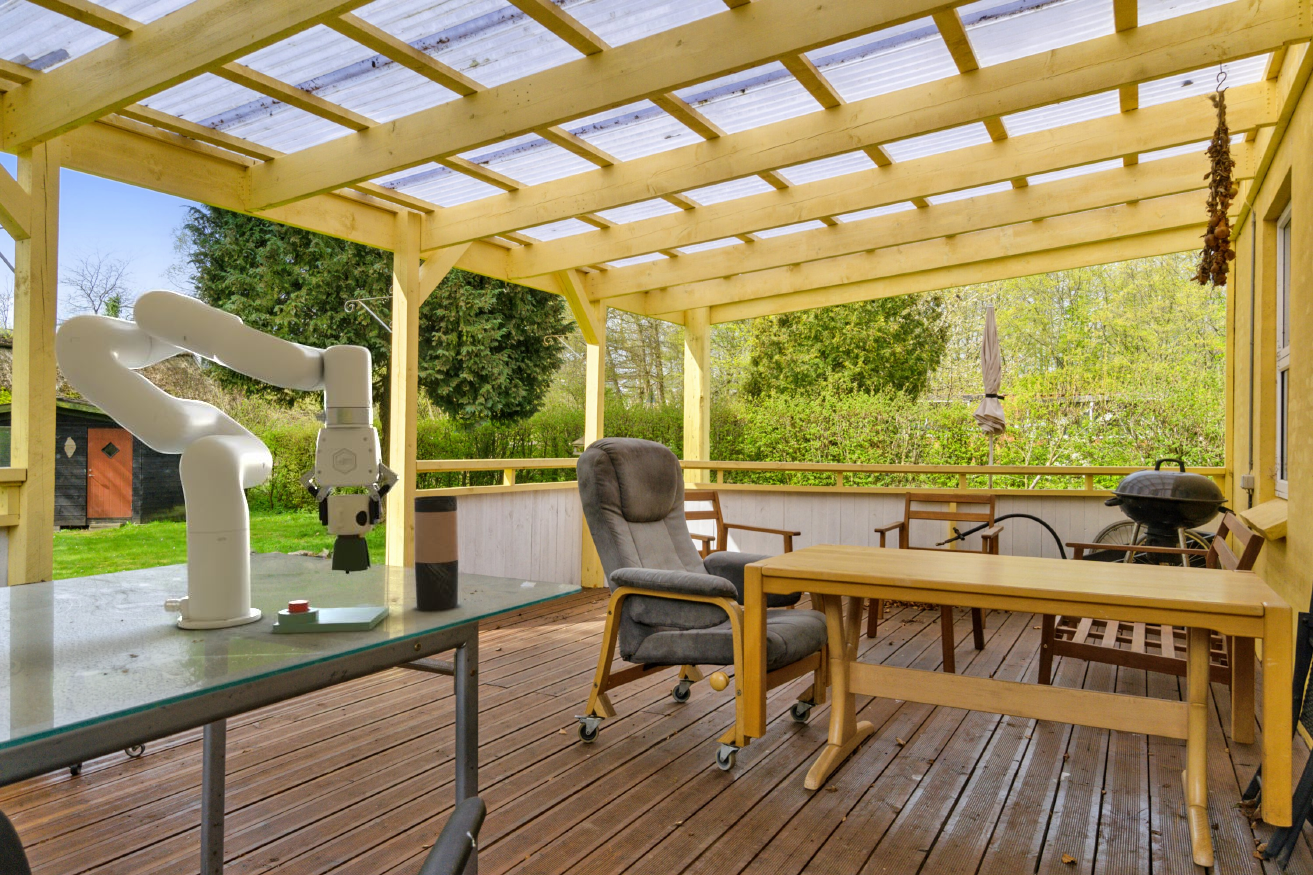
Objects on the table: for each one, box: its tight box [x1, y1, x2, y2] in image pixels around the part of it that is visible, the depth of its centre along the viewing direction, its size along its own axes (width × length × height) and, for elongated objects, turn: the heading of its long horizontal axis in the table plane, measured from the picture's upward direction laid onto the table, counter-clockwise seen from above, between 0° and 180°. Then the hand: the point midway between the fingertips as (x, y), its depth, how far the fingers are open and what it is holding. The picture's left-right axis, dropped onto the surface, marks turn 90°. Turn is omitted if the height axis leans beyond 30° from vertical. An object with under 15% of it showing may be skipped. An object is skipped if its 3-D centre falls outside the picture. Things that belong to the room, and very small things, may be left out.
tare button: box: [288, 599, 310, 613], centre depth 139 cm, size 3×3×2 cm
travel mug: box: [413, 495, 459, 612], centre depth 155 cm, size 8×8×20 cm
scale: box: [272, 605, 390, 634], centre depth 143 cm, size 15×13×3 cm
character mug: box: [327, 493, 374, 575], centre depth 145 cm, size 11×7×13 cm, turn 175°
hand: (350, 523), depth 145 cm, fingers closed on character mug, 7 cm apart
